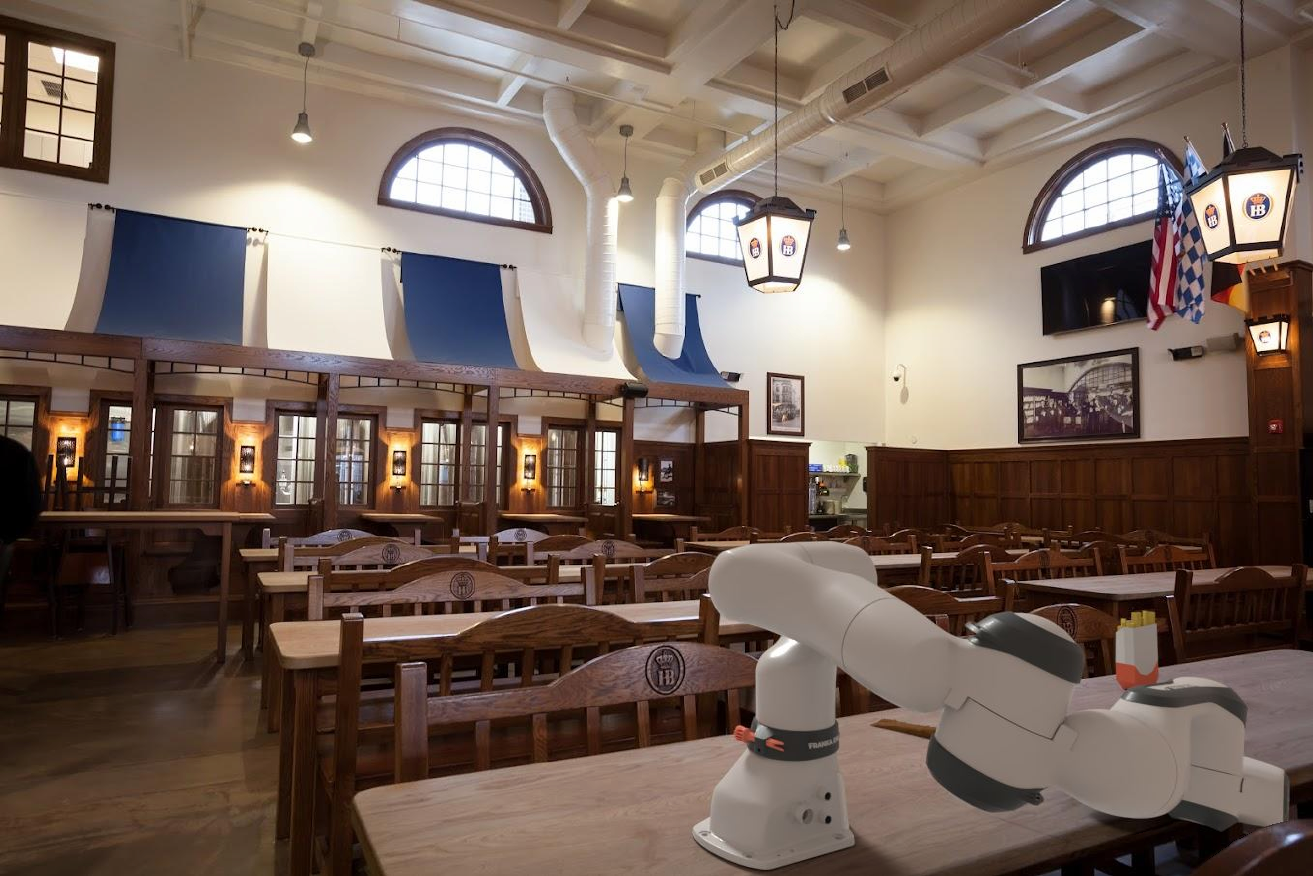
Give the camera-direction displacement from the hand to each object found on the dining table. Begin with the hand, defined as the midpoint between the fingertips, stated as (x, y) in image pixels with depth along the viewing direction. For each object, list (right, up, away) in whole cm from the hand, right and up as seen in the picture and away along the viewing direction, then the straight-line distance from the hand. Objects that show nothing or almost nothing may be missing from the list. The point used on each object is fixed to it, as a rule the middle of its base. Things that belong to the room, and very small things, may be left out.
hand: (1054, 744), depth 125 cm
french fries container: (+49, -10, +58) cm, 76 cm away
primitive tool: (-14, -8, +25) cm, 29 cm away
